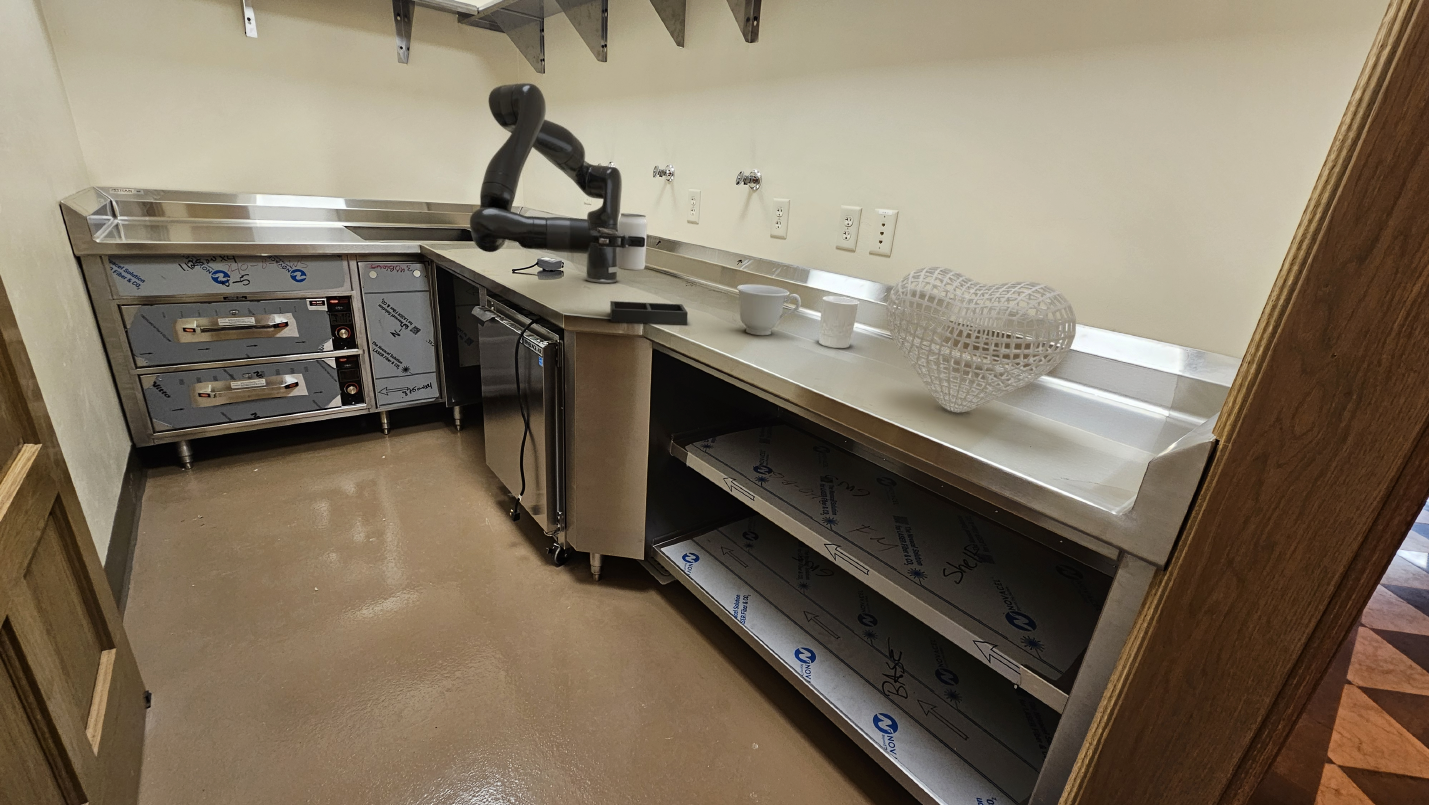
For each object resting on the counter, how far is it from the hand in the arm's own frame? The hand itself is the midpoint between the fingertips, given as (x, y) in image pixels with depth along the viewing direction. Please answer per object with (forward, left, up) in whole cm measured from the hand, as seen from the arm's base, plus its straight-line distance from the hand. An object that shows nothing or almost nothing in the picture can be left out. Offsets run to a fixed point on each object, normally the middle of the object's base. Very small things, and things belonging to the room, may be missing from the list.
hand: (642, 240), depth 139 cm
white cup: (+20, +42, -18) cm, 50 cm away
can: (0, -2, -7) cm, 7 cm away
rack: (+2, +2, -18) cm, 18 cm away
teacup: (+12, +28, -18) cm, 35 cm away
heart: (+60, +47, -18) cm, 79 cm away
